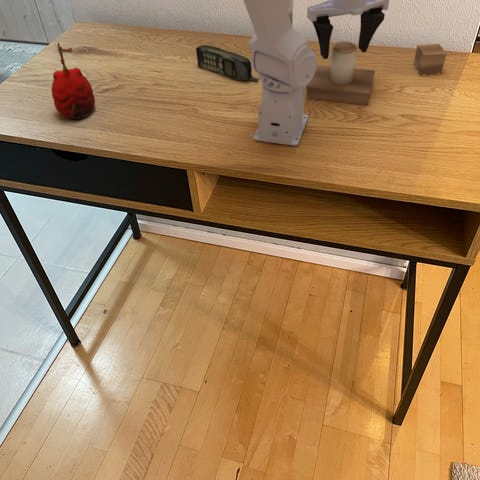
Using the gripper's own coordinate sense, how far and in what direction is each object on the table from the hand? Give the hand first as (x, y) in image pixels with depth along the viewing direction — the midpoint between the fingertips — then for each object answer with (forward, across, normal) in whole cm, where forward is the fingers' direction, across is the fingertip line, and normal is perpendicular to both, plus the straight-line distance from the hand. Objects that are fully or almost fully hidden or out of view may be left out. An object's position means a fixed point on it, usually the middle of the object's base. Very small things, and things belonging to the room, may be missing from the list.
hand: (343, 53), depth 94 cm
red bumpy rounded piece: (+8, -51, +9) cm, 52 cm away
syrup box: (+8, -6, +21) cm, 23 cm away
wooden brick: (+8, 0, 0) cm, 8 cm away
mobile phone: (+8, -19, +14) cm, 25 cm away
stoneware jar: (+5, 0, 0) cm, 5 cm away
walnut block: (+8, +20, +2) cm, 22 cm away
